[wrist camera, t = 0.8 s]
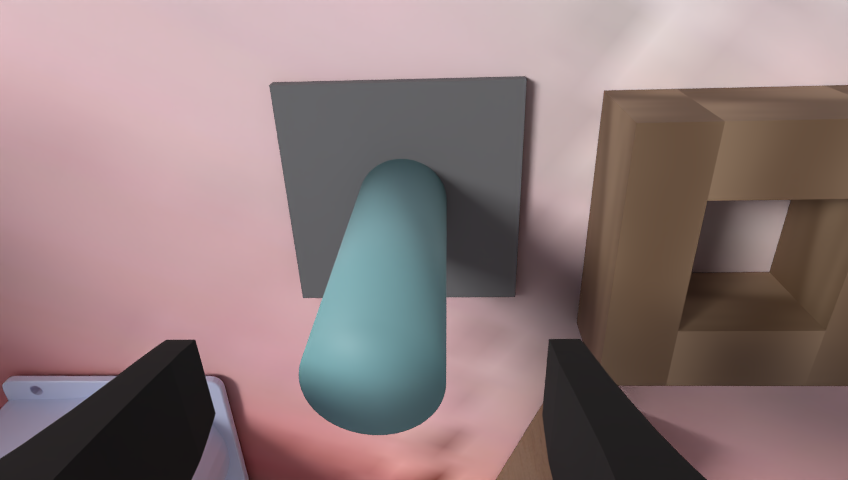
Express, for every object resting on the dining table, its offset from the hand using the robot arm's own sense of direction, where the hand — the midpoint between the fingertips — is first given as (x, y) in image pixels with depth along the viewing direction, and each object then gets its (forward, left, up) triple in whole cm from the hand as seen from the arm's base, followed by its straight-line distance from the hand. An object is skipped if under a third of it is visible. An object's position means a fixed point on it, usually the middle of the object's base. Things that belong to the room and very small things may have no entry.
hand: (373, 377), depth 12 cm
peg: (0, 0, -9) cm, 9 cm away
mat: (0, 0, -9) cm, 9 cm away
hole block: (+11, -1, -9) cm, 14 cm away
